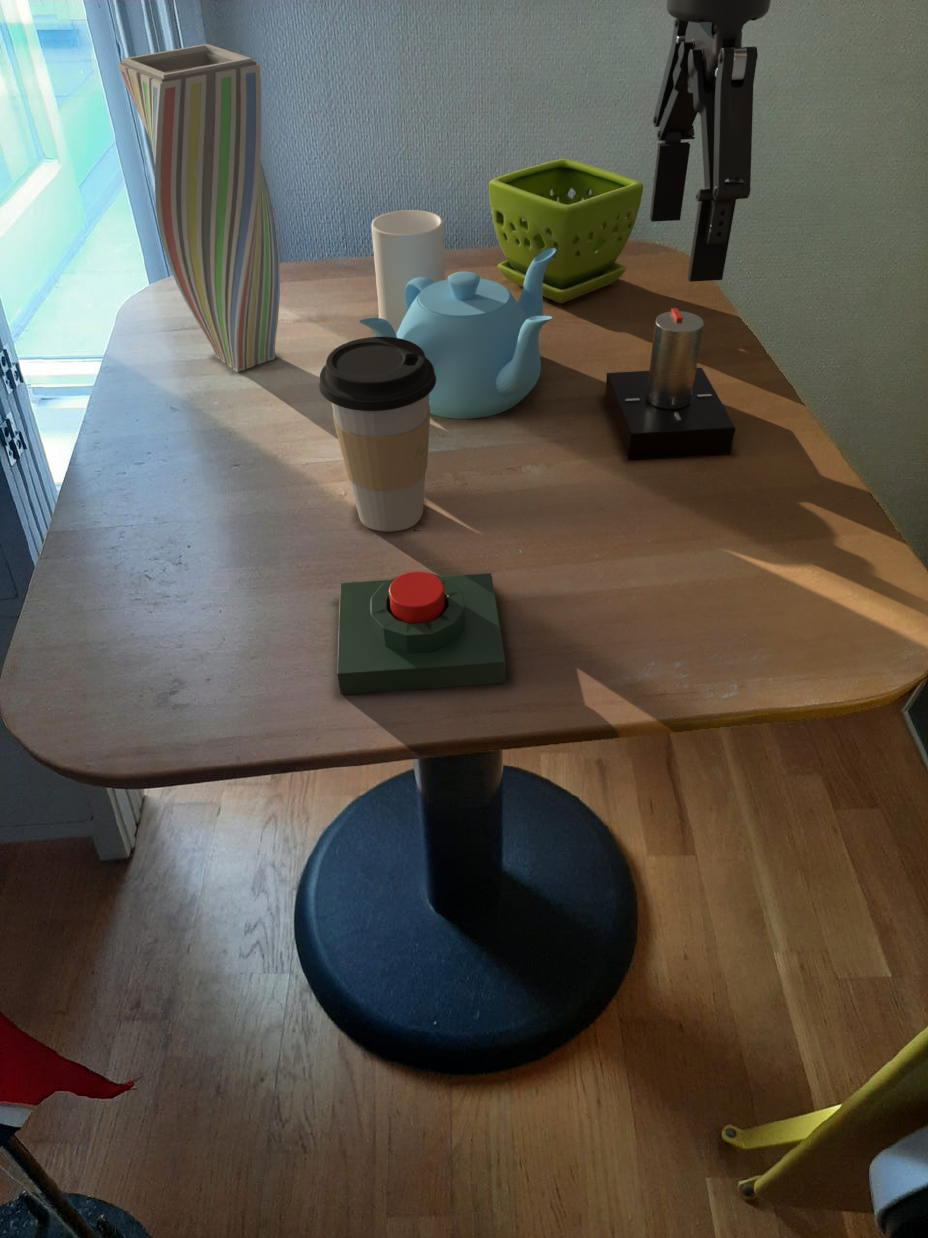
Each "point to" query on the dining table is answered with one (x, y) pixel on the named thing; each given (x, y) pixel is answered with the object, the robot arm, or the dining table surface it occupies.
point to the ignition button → (416, 597)
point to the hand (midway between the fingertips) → (683, 247)
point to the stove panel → (667, 420)
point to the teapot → (475, 339)
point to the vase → (213, 193)
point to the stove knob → (674, 359)
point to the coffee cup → (382, 425)
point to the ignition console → (419, 639)
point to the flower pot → (564, 224)
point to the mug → (405, 257)
